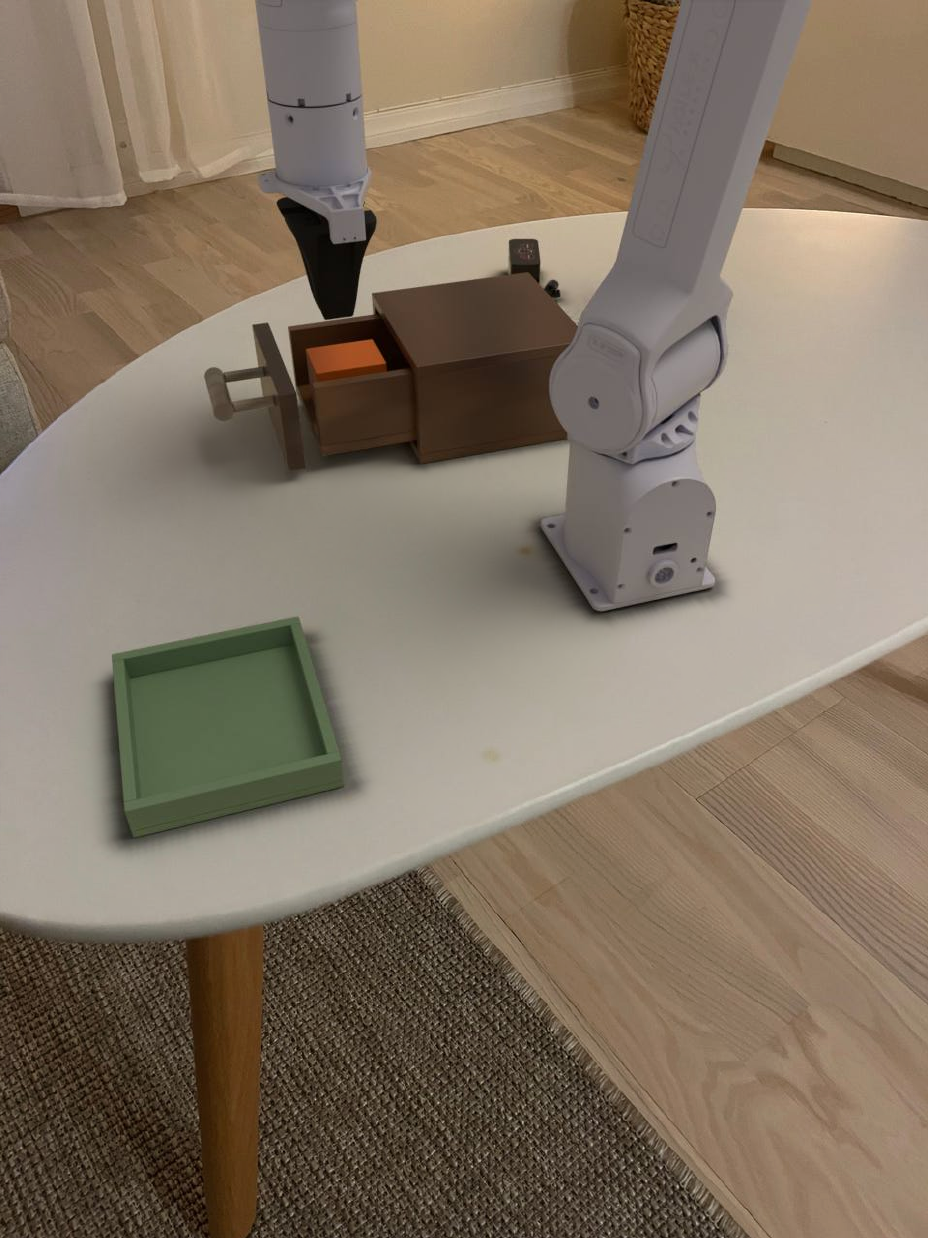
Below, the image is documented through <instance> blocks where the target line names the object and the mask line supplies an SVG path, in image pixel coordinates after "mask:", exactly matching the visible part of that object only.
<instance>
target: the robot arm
mask: <svg viewBox="0 0 928 1238" xmlns="http://www.w3.org/2000/svg"><path fill="white" fill-rule="evenodd" d="M254 2H255V11H256V18H257V26H258V27H257V28H258V36H259V43H260V44H259V45H260V52H261V53H260V54H261V60H262V68H263V76H264V84H265V85H264V86H265V93H266V100H267V109H268V117H269V122H270V124H269V125H270V133H271V140H272V148H273V157H274V165H275V170H272V171H267V172H261V173H259V174H258V175H257V184H258V187H259V189H260V192H262V193H263V194H280V195H282V196H284V197H281V198H279V199H278V200H277V201H276V206H277V208H278V210H279V212H280V214H281V215H282V217H283V218H284V222H285V224H286V226H287V227H288V229H289V231H290V233H291V235H292V236H293V237H294V239H295V243H296V245H297V247H298V250H299V253H300V256H301V260H302V263H303V267H304V270H305V274H306V277H307V281H308V285H309V287H310V290H311V293H312V296H313V299H314V301H315V303H316V306H317V308H318V310H319V311H320V314H321V316H322V318H323V321H330V320H338V319H345V318H352V317H353V316H354V315H355V310H356V304H357V298H358V293H359V283H360V282H359V281H360V276H361V271H362V270H361V269H362V265H363V261H364V258H365V254H366V252H367V249H368V246H369V244H370V242H371V239H372V237H373V236H374V234H375V231H376V229H377V224H378V223H377V222H378V220H377V219H378V218H377V216H376V215H375V213H374V212H373V210H371V209H367V210H365V208H364V206H365V204H366V199H367V196H368V193H369V190H370V187H371V184H372V174H371V173H372V172H371V168H370V167H369V165H368V161H367V148H366V147H367V146H366V132H365V117H364V101H363V88H362V72H361V71H362V70H361V57H360V56H361V55H360V41H359V28H358V26H359V25H358V11H357V10H358V9H357V2H358V0H254ZM812 3H813V0H681V1H680V5H679V8H678V14H677V17H676V21H675V23H674V28H673V32H672V36H671V40H670V43H669V44H670V45H669V49H668V53H667V57H666V60H665V64H664V68H663V73H662V77H661V81H660V84H659V87H658V92H657V96H656V100H655V103H654V108H653V111H652V116H651V120H650V123H649V128H648V132H647V136H646V140H645V142H644V143H645V144H644V148H643V151H642V154H641V159H640V162H639V167H638V171H637V175H636V179H635V184H634V187H633V191H632V195H631V199H630V203H629V207H628V210H627V213H626V214H627V215H626V219H625V223H624V226H623V231H622V235H621V239H620V243H619V247H618V251H617V253H616V254H617V255H616V258H615V261H614V263H613V265H612V267H611V268H610V270H609V272H608V273H607V275H606V276H605V278H604V279H603V281H602V282H601V283H600V284H599V286H598V288H597V289H596V290H595V292H594V293H593V295H592V296H591V298H590V299H589V300H588V302H587V304H586V305H585V307H584V309H583V310H582V312H581V314H580V315H579V319H578V323H577V326H578V328H577V331H576V334H575V337H574V339H573V341H572V342H571V344H570V345H569V346H568V347H567V348H566V349H565V350H564V351H563V352H562V353H561V355H560V356H559V357H558V358H557V360H556V361H555V363H554V365H553V368H552V370H551V374H550V379H549V393H550V399H551V404H552V407H553V409H554V412H555V415H556V416H557V418H558V420H559V422H560V424H561V425H562V427H563V428H564V429H565V431H566V432H567V438H566V439H567V440H568V441H569V452H568V464H567V465H568V466H567V479H566V480H567V481H566V493H565V507H564V514H559V515H553V516H549V517H544V518H542V519H541V521H540V528H541V530H542V531H543V533H544V535H545V536H546V538H547V540H548V541H549V542H550V544H551V545H552V547H553V548H554V550H555V552H556V554H558V557H559V558H560V560H561V561H562V562H563V564H564V565H565V568H566V569H567V570H568V572H569V573H570V575H571V576H572V578H573V580H574V581H575V583H576V585H577V586H578V587H579V589H580V590H581V592H582V593H583V595H584V597H585V599H586V601H588V603H589V605H590V606H591V608H592V609H593V610H595V611H597V612H605V611H609V610H615V609H620V608H624V607H628V606H634V605H638V604H642V603H647V602H651V601H655V600H661V599H664V598H665V599H666V598H670V597H674V596H678V595H679V596H680V595H683V594H687V593H692V592H697V591H701V590H706V589H710V588H713V587H714V586H715V584H716V578H715V576H714V575H713V573H712V572H711V571H710V570H709V569H708V567H707V566H706V565H707V561H708V556H709V550H710V544H711V540H712V534H713V530H714V524H715V519H716V513H717V500H716V496H715V494H714V491H713V489H712V488H711V486H710V485H709V483H708V482H707V480H706V478H705V477H704V475H703V473H702V470H701V467H700V465H699V462H698V461H699V460H698V456H697V450H696V448H697V434H698V433H697V432H698V427H699V409H700V402H701V397H702V394H701V393H702V392H704V391H706V390H707V389H709V388H711V387H712V386H713V385H715V383H716V382H717V381H718V380H719V379H720V377H721V376H722V374H723V373H724V371H725V368H726V365H727V362H728V356H729V341H728V333H727V318H728V317H727V316H728V312H729V309H730V305H731V302H732V300H733V297H734V291H733V289H732V287H731V286H730V285H729V284H728V283H727V282H726V281H725V279H724V278H723V277H722V276H721V274H722V271H723V268H724V265H725V262H726V259H727V256H728V254H729V251H730V250H729V249H730V247H731V244H732V240H733V238H734V235H735V232H736V229H737V226H738V223H739V221H740V217H741V214H742V211H743V208H744V206H745V202H746V199H747V196H748V193H749V191H750V187H751V184H752V181H753V178H754V175H755V172H756V170H757V167H758V164H759V161H760V158H761V155H762V151H763V149H764V146H765V144H766V140H767V137H768V134H769V131H770V128H771V126H772V125H771V124H772V122H773V119H774V116H775V113H776V110H777V108H778V104H779V102H780V98H781V95H782V93H783V89H784V86H785V83H786V81H787V78H788V74H789V72H790V69H791V66H792V62H793V60H794V56H795V53H796V51H797V48H798V45H799V42H800V39H801V37H802V34H803V30H804V27H805V24H806V21H807V18H808V15H809V13H810V9H811V7H812Z"/></svg>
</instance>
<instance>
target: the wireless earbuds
mask: <svg viewBox="0 0 928 1238" xmlns="http://www.w3.org/2000/svg"><path fill="white" fill-rule="evenodd" d="M507 257H508V259H507V261H508V263H507V271H508V274H507V275H511V274H518V273H526V272H528V273H529V274H530V275H531V276H532V277H533V278H534V279H535V280H536V281H537V282H538V284H539V285H540V286H541V283H540V282H541V263H542V262H541V254H540V246H539V241H538V239H536V238H512V239H509V240H508V255H507ZM558 288H559V282H558V280H556V279H550V280H548V282H547V283H546V285H545V287H544V288H543V289H544V290H545V291H546V292H547V293H548V294H549V295H550V296H551V298H552V299H558V298H561V290H560V289H558Z"/></svg>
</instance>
